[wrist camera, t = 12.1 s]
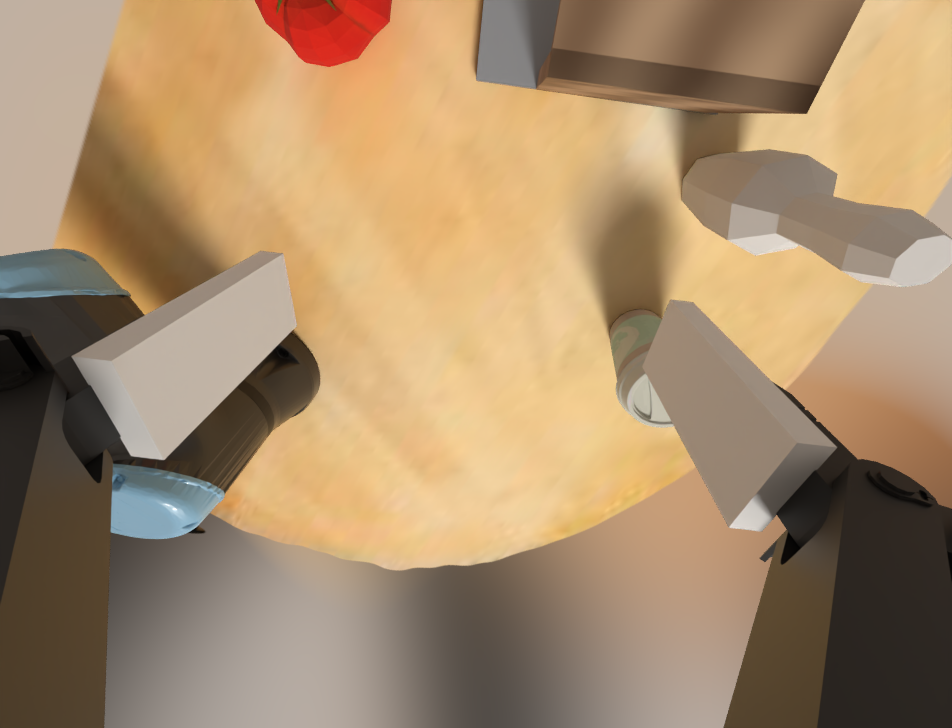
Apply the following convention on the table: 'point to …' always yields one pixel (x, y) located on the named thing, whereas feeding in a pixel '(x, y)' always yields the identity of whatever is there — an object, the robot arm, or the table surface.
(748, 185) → the low poly bottle
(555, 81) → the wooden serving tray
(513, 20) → the socket board
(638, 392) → the coffee cup
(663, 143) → the table surface
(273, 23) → the tomato
